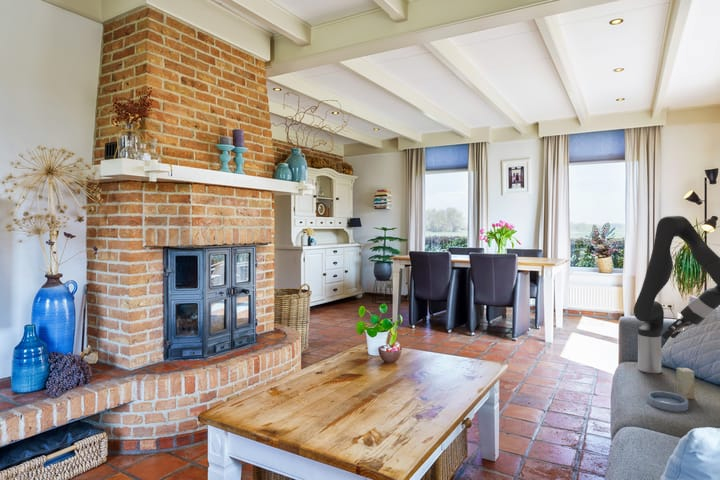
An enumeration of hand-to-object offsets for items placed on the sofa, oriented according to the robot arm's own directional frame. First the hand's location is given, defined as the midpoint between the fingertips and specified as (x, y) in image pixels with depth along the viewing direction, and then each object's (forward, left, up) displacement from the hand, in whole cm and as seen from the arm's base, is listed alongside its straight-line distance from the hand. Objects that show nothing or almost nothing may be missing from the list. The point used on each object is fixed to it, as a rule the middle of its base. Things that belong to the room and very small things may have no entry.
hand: (667, 337), depth 186 cm
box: (+10, +1, -22) cm, 24 cm away
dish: (+18, -10, -22) cm, 30 cm away
